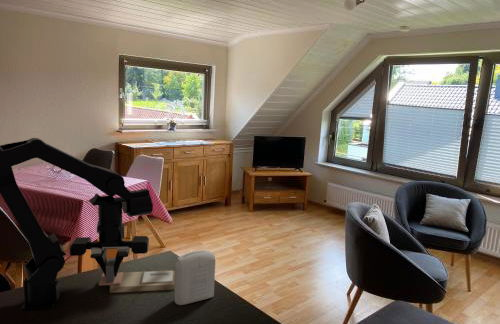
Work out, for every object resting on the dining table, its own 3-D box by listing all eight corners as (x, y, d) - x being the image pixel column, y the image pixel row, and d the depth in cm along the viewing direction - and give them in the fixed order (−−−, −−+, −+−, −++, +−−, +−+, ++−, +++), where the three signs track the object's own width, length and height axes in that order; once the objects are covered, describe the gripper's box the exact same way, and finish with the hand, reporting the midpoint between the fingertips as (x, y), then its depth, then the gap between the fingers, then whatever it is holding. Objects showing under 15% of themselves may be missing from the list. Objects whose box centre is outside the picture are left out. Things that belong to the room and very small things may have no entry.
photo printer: (208, 289, 100) (210, 245, 98) (216, 297, 96) (218, 251, 94) (171, 299, 94) (172, 252, 92) (178, 308, 91) (179, 259, 88)
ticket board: (109, 292, 96) (109, 285, 96) (114, 277, 104) (114, 271, 103) (174, 289, 99) (174, 282, 99) (174, 275, 107) (174, 268, 106)
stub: (98, 285, 96) (98, 267, 95) (103, 274, 102) (102, 257, 101) (120, 284, 97) (120, 266, 96) (123, 273, 103) (123, 256, 102)
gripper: (150, 209, 106) (150, 261, 109) (79, 210, 103) (80, 264, 105) (147, 222, 95) (147, 280, 98) (67, 223, 92) (70, 283, 94)
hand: (111, 276), depth 99 cm, fingers closed on stub, 2 cm apart
